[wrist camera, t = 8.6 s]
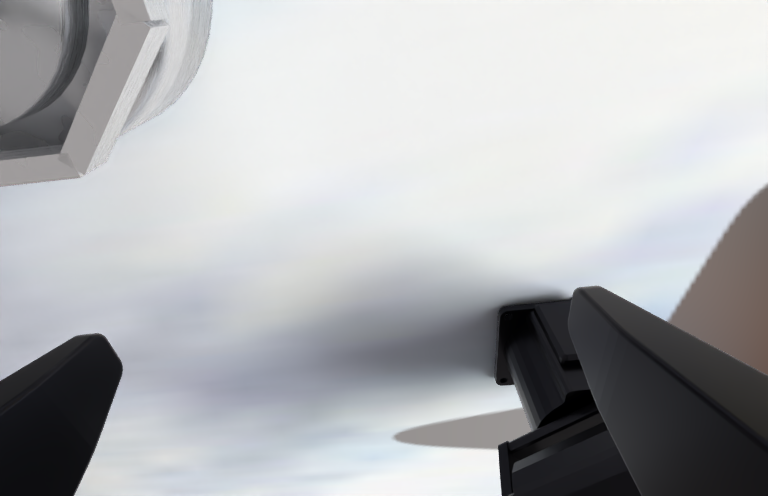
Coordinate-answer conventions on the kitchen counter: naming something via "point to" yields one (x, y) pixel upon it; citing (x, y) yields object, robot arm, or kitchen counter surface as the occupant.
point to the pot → (109, 88)
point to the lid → (39, 53)
